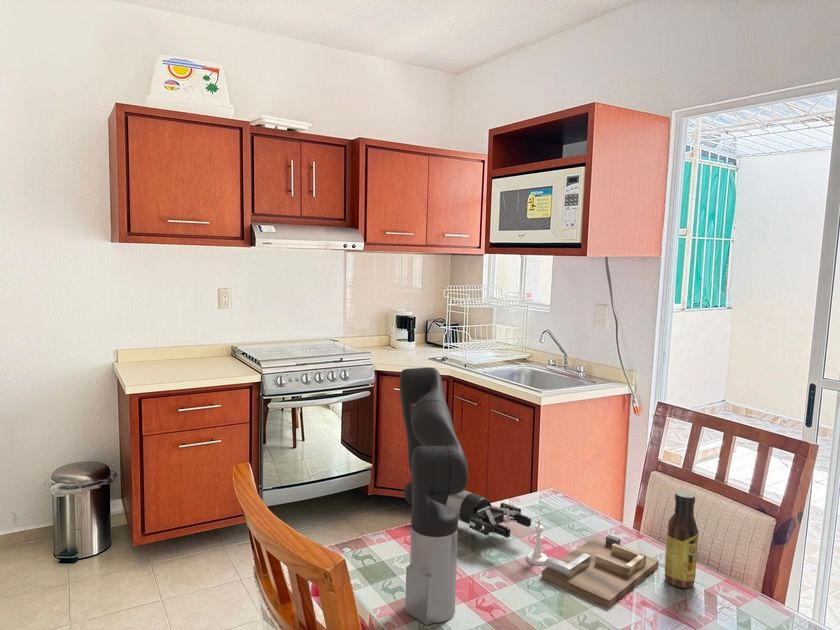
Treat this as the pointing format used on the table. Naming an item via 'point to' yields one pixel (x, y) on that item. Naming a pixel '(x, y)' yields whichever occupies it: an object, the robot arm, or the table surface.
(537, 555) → the chess piece
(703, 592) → the table surface
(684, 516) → the sauce bottle
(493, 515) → the robot arm
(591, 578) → the socket board
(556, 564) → the keeper bolt
